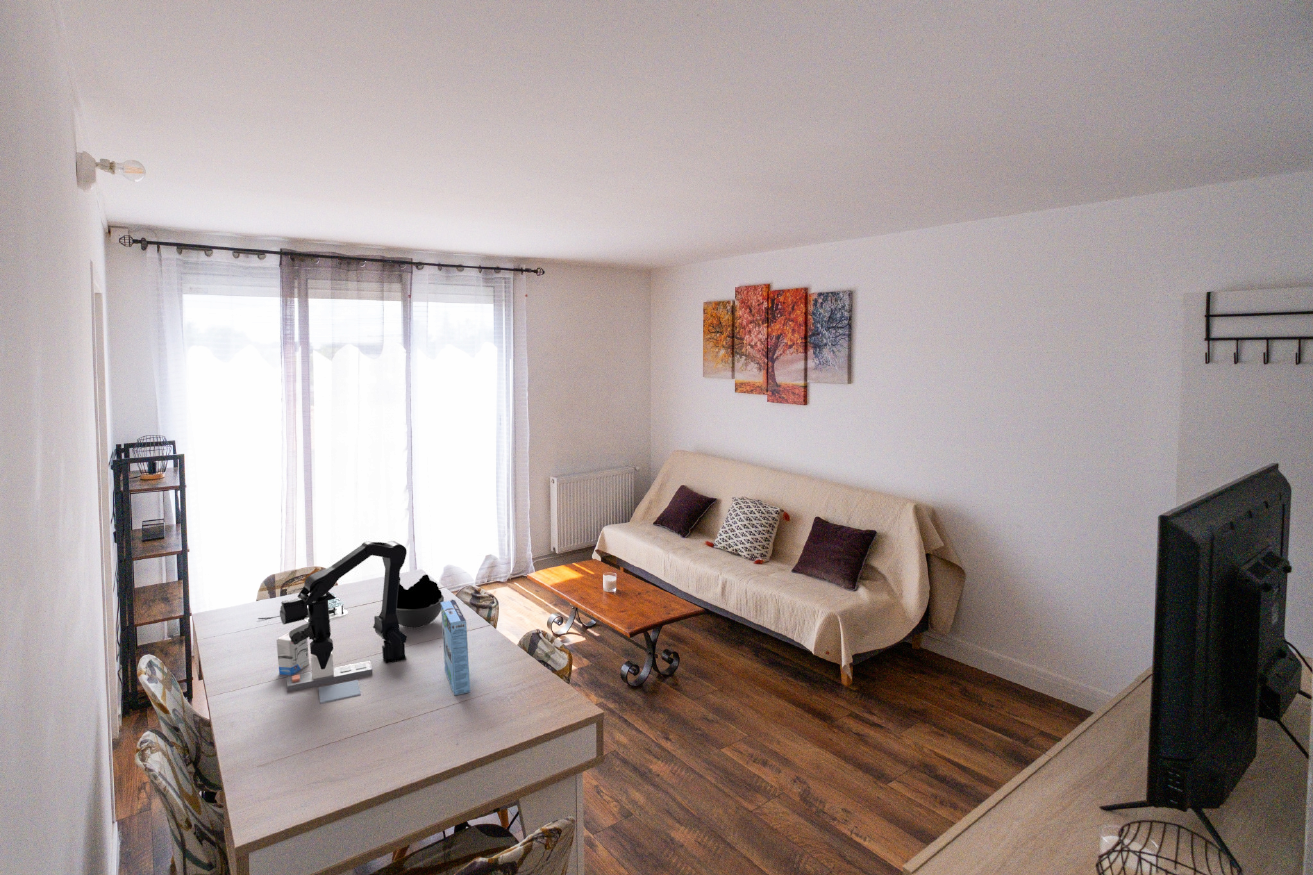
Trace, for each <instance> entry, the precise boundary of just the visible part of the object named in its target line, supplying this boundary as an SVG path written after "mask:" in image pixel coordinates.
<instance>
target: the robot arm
mask: <svg viewBox="0 0 1313 875" xmlns="http://www.w3.org/2000/svg"><path fill="white" fill-rule="evenodd" d="M407 551H408V550H407V548H406V546H404V545H402V544H400V543H399V542H397V541H395V540H390V541H386V542H384V541H383V542H381V541H370V540H366V541H364V542H363V543H361V545H359V546H358V547H356V548H355V549H354V550H352V551H351V552H349V553H348V554H346V555H345V556H344V557H342V558H340V560H338V561H337V562H335V563H334V564H332V565H331V566H329V567H327V568H324V569H320V570H317V571H316V572H314V573H312V574H309V575H308V576H307V577H306V578H305V579H304V585H303V587H302V589H301V590H300V591H299V593H298V595H297V598H295V599H290V600H282V601H281V603H280V604H281V606H280V610H279V616H280V620H281V623H282V625H288V624H292V623H297V622H300V621H304V620H305V618H307V615H308V613H309V619H308V622H306V623H304V624H302V625H300V626H298V627H295V628H294V629H292V630H291V631H289V632H288V633H289V637H290V639H291V642H293V644H294V645H296V644H298V643H299V642H301V641H303V640H305V639H307V640H308V639H309V640H312V641H311V642H309V648H310V650H309V651H310V655H311V654H312V655H316V656H317V658H318V661H319V664H320V667H321V669H325V668H326V665H327V662H328V660H329V657H330V655H331V652H332V653H333V651H334V644H333V643H334V642H333V639H332V638H331V636H332V635H331V634H332V633H331V632H332V631H331V621H330V620H331V619H330V618H329V606H328V600H332V599H336V598H335V596H336V595H335V596H333V594H330V593H331V592H329V591H330V590H331V589H333V588H334V587H335V585H336V584H337V582H338V581H339V580H340V579H341V578H342V577H343V576H345V575H346V574H348V573H349V572H350V571H352V570H353V569H355V568H356V567H357V566H359V565H360V564H362V563H363V562H365V561H366V560H367V559H368V558H370V557H371V556H373V557H381V558H382V563H383V565H384V578H383V579H384V580H383V589H382V590H383V592H382V604H381V610H380V613H379V615H374V617H373V618H374V619H373V620H374V623H373V626H372V628H373V629H374V632H375V633H376V634H377V635H378V636H379V637H380V638H381V639H382V640H383V645H382V646H381V651H382V652H381V653H382V656H381V657H382V659H383V661H384V662H385V664H390V663H396V662H401V661H406V660H407V656H406V646H405V643H406V641H407V639H408V636H407V635H406V634H405V633H404V632H402V631H400V630H401V629H400V624H399V620H398V617H397V613H396V609H397V598H398V586H399V577H400V575H401V569H402V568H403V566H404V564H405V561H406V558H407V553H408V552H407ZM307 605H308V608H307Z"/></svg>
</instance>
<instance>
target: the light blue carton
mask: <svg viewBox="0 0 1313 875" xmlns="http://www.w3.org/2000/svg"><path fill="white" fill-rule="evenodd" d="M440 613H441V625H442V626H441V627H442V640H443V641H442V643H443V659H444V660H443V661H444V671H445V674H446V678H447V679H448V682H449V685H450V688H451V690H452V693H453V695H454V696H460V695H463V694H464V695H465V694H467V693H468V694H469V693H470V692H471V686H470V680H471V679H470V667H469V666H470V665H469V663H470V662H469V648H468V630H467V619H466V618H465V616H464V614H463V613H462V610H461V608H460V607H459V605H458V604H457V601H456V599H453V600H452V599H451V600H446V601H445V600H444V602H441V612H440Z"/></svg>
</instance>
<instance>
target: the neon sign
mask: <svg viewBox="0 0 1313 875" xmlns="http://www.w3.org/2000/svg"><path fill="white" fill-rule="evenodd" d="M330 594H332V595H333V596H335V599H332V600H328V606H329V618H330V620H331V619H335V618H340V617H344V616H346V615H347V614H348V613H349V611H348V610H346V609H345V608H344V605H345V602H343V601H341V599H340V598H338V597H337V596H336V594H335V593H334V592H330ZM307 608H308V605H307ZM278 617H280V615H277V616H271V617H258V618H257V620H266V619H274V618H275V619H276V618H278ZM280 618H281V617H280ZM308 619H309V613H308V615H307V618H305V619H304V620H305V622H306V623H308Z"/></svg>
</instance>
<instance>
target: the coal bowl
mask: <svg viewBox="0 0 1313 875" xmlns="http://www.w3.org/2000/svg"><path fill="white" fill-rule="evenodd" d="M441 602H445V598H444V595H443V594H442V591H441V589H440V588H439V586H438V583H437V582H435V581H433V580H431V579H430V576H429V575H428V574H423V575H422V576H421V577H420V578H419V579H418V581H417V582H416V583H414V584H413V585H411V586H410V587H408V589H406V588H405V587H404V586H403V585H402V584H401V577H400V576H399V586H398V598H397V609H396V613H397V617H398V620H399V626H402V627H405V628H408V629H420V628H424V627H426V626H427V625H429V624H431V623H432V622H434V621H435V619H437V617H438V616H439V614H440V613H441Z"/></svg>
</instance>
